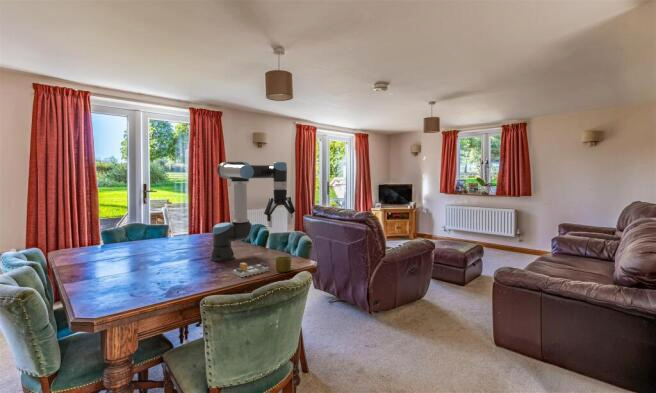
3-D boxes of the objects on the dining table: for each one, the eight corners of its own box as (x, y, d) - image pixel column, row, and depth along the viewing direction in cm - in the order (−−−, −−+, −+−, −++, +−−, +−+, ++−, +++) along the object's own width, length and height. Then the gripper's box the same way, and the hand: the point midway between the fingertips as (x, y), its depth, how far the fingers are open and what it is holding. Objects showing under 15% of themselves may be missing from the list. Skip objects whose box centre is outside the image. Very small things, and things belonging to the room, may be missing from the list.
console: (233, 273, 185) (233, 267, 185) (260, 267, 197) (260, 261, 197) (241, 277, 178) (241, 271, 178) (269, 270, 190) (269, 265, 190)
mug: (290, 271, 184) (286, 254, 186) (274, 275, 186) (270, 258, 188) (298, 269, 196) (294, 253, 197) (282, 272, 198) (279, 257, 200)
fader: (239, 269, 185) (239, 263, 184) (243, 268, 186) (243, 262, 186) (243, 271, 182) (243, 264, 181) (247, 270, 183) (247, 263, 183)
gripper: (265, 190, 173) (265, 229, 175) (301, 188, 190) (301, 223, 192) (257, 189, 178) (257, 227, 180) (293, 187, 195) (293, 222, 197)
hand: (280, 225), depth 186 cm, fingers open, 13 cm apart
